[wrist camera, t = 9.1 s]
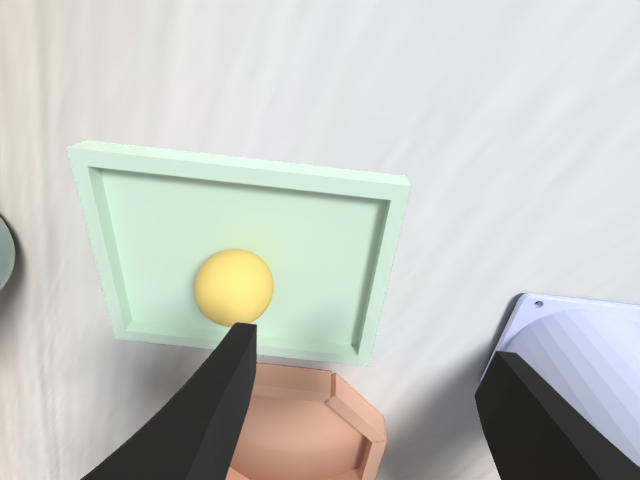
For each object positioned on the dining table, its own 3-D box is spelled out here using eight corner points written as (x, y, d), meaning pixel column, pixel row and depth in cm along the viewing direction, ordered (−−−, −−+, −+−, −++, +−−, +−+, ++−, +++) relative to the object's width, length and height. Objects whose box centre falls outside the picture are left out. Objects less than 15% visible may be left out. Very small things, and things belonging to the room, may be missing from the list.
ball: (282, 241, 19) (269, 285, 15) (275, 299, 21) (262, 349, 17) (209, 229, 19) (179, 270, 15) (208, 288, 21) (182, 337, 17)
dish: (396, 378, 24) (400, 400, 23) (362, 490, 32) (363, 513, 30) (183, 354, 24) (172, 375, 23) (198, 472, 32) (190, 494, 30)
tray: (406, 175, 17) (411, 186, 16) (366, 348, 23) (368, 366, 22) (86, 139, 17) (66, 147, 16) (127, 322, 23) (114, 338, 22)
